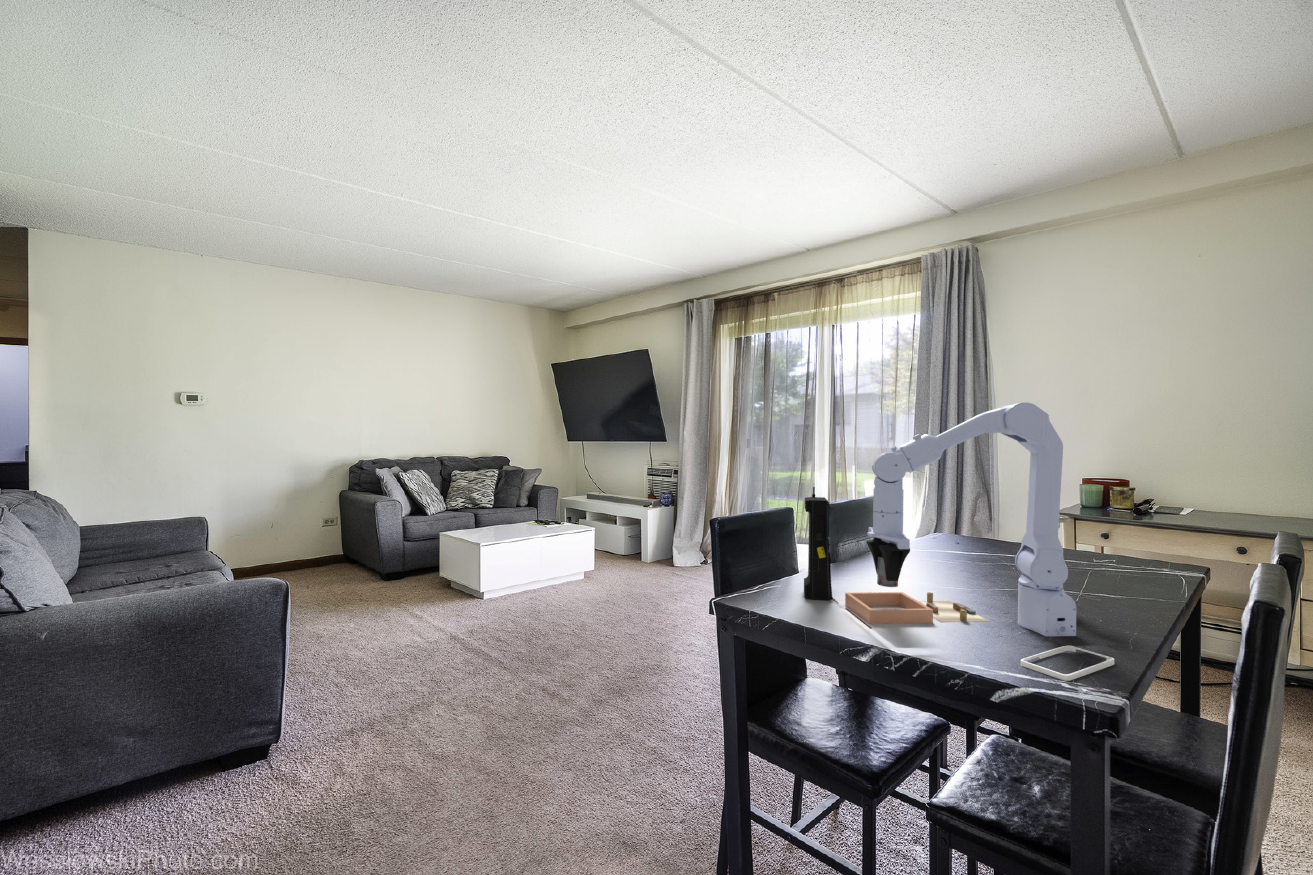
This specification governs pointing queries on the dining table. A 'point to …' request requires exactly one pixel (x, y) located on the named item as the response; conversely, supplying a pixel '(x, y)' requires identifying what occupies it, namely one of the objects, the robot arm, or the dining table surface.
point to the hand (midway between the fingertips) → (887, 577)
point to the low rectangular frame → (911, 614)
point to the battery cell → (884, 575)
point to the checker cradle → (951, 611)
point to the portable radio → (818, 550)
